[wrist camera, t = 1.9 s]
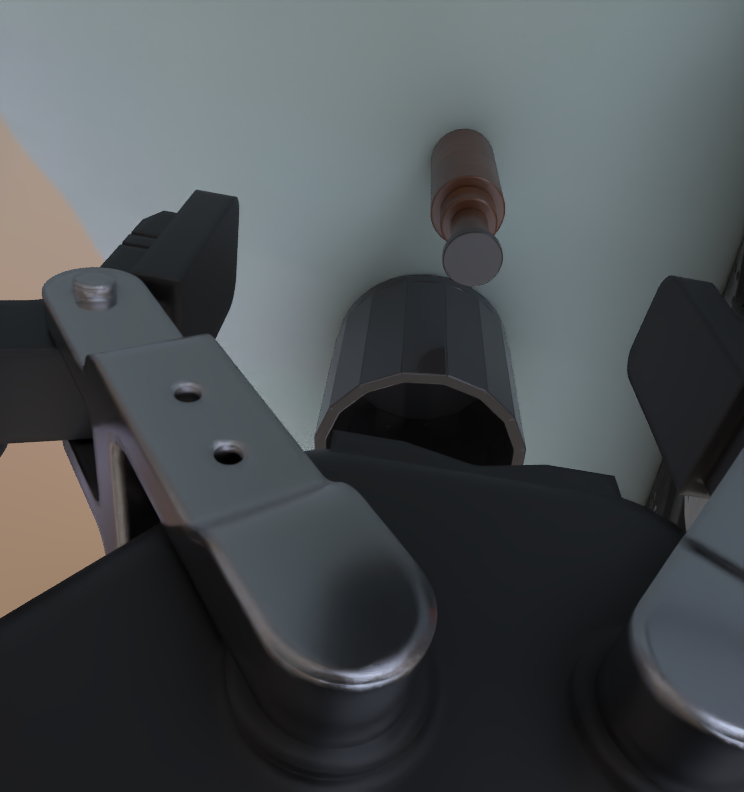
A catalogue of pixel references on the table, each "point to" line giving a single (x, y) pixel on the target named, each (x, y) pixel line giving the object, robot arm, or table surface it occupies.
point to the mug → (425, 373)
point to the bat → (467, 206)
